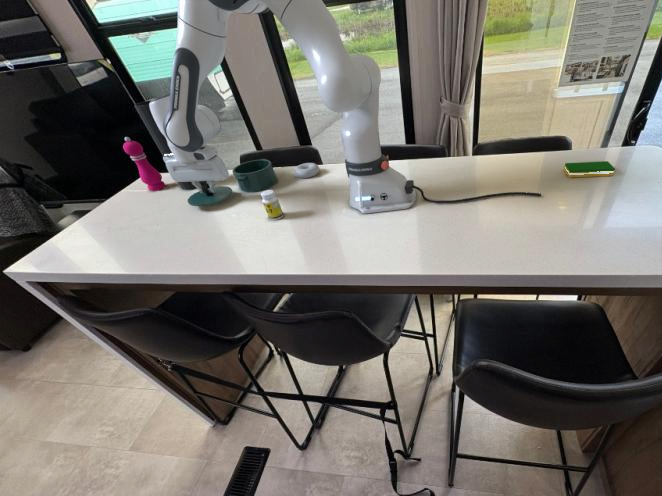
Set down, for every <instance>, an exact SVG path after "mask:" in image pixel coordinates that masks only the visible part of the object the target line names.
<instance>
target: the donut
mask: <svg viewBox="0 0 662 496" xmlns="http://www.w3.org/2000/svg"><path fill="white" fill-rule="evenodd" d="M293 171H294V174H295V176H296V177H297V178H300V179H308V178H312V177H315V176H317V175H318V174H319V172H320V167H319V165H318V164H317V163H315V162H305V163H301V164H299V165H296V167H295V168H294V170H293Z"/></svg>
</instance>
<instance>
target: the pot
mask: <svg viewBox="0 0 662 496" xmlns="http://www.w3.org/2000/svg"><path fill="white" fill-rule="evenodd" d="M231 172H232V174H233V176H234V179H235V180H236V183H237V186H238V188H239V189H240V191H242V192H245V193H256V192H263V191H266V190H269V188H272V187H274V186H275V185H276V184H277V182H278V178H277V175H276V172H275V169H274V167H273V164H272V162H271V161H270V160H269V159H267V158H260V159H255V160H248V161H245V162H242V163H240V164H237V165H235V166H234V168H232V171H231Z"/></svg>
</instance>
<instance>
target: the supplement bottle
mask: <svg viewBox="0 0 662 496" xmlns="http://www.w3.org/2000/svg"><path fill="white" fill-rule="evenodd" d="M260 197H261V198H262V201H261V202H262V204H263V207H264V209H265V211H266V214H267V217H268V219H269V220H272V221H276V220H277V221H278V220H280V219H282V218H283V217H284V211H283V209H282V206H281V203H280V201H279V198H278V197H277V196H276V193H275V191H274V190H273V189H265V190H262V191H261V193H260Z"/></svg>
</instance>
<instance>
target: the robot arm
mask: <svg viewBox="0 0 662 496" xmlns="http://www.w3.org/2000/svg"><path fill="white" fill-rule="evenodd" d="M269 11H270V12H272V14H273V15H274V16H275V18H276V19H277V21H278V22H279V23H280V24H281V26H282V27H283V28H284V30H285V31H286V32H287V34H288V35H289V37H290V38H291V39H292V40H293V42H294V43H295V44H296V46H297V47H298V48H299V50H300V51H301V53H302V54H303V56H304V57H305V59H306V61H307V63H308V64H309V67H310V69H311V71H312V73H313V75H314V78H315V80H316V82H317V92H318V95H319V98H320V100H321V102H322V103H323V105H324V106H325V107H326V108H327V109H329V110H330V111H331V112H334V113H340V114H342V123H341V128H340V136H341V140H342V145H343V146H342V147H343V151H344V155H345V156H344V157H345V159H344V163H345V164H344V165H345V171H346V174H347V178H348V181H349V205H350V206H351V207H352V208H353V209H356V210H358V211H360V212H361V213H362V214H373V213H381V212H390V211H398V210H399V211H400V210H408V209H410V208H411V207H413V205H414V204H415V203H416V199H417V193H416V190H417V191H419V192H420V195H421V198H422V199H423V200H424V201H426V202H430V203H434V204H457V203H463V202H469V201H471V202H472V201H476V200H477V201H478V200H482V199H486V198H487V199H488V198H494V197H501V196H517V195H518V196H535V197H541V196H542V193H540V194H539V192H528V191H527V193H526V191H508V192H507V191H506V192H500V193H491V194H485V195H478V196H474V197H473V196H472V197H466V198H461V199H449V200H448V199H447V200H446V199H445V200H444V199H442V200H433V199H429V198H427V197H425V194H424V193H425V192H424V191H423V189H422V188H420V187H418V186H416V185H415V183H414V179H407V177H406V176H405V175H404V174H402V173H401V172H399V171H397V170H396V169H394V168H393V167H391V166H390V161H389V154H387V155H384V154H383V153H382V149H381V139H380V131H379V130H380V129H379V110H380V86H381V80H382V75H381V74H382V73H381V69H380V66H379V64H378V63H377V62H376V60H375V59H374V58H372V57H371V56H369V55H366V54H363V53H353V54H350V53H349V52H348V50H347V48H346V47H345V44H344V42H343V40H342V38H341V35H340V33H339V28H338V23H337V20H336V19H335V17H334V16H333V15H332V13H331V11H330V10H329V9H328V7H327V6H326V4H325V3H324V1H323V0H177V26H176V27H177V30H176V44H175V49H174V55H173V60H172V67H171V77H170V92H169V93H166V94H164V95H161V96H159V97H156V98H154V99H150V100H151V101H150V103H149V106H150V110H151V113H152V116H153V118H154V120H155V122H156V124H157V126H158V128H159V130H160V131H161V133H162V134H163V135H164V136H165V138H166V140H167V143H168V146H169V148H170V150H171V152H172V153H171V154H168V153H167V154H165V155H164V156H163V155H162V160H163V162H164V163H165V167H166V169H167V171H168V174H169V176H170V177H171V179H172V181H174V182H175V183H178V182H192V184H193V185H194V186H195V187H196V189H198V192H199V191H200V193H205V192H204V190H203V188H202V186H201V184H200V183H199V181H207V183H208V184H209V186H210V187H209V188H208V190H209V192H210V193H214V192H216V189H215V187H216V186H215V183H216V182H217V181H218V182H219V181H220V182H221V181H225V180H227V179H228V178H229V173H230V172H229V170H228V167H227V166H226V164H225V162H224V160H223V159H222V157H220V156H219V155H217V154H218V153H219V152H218V149H217V148H216V147H215V146H211V145H208V144H206V143H208V142H210V141H211V140H212V139H214V138H216V137H217V136H218V135H219V134H220V133H221V127H222V126H221V125H222V124H221V121H220V119H219V116H218V115H217V113H216V112H214V110H212V109H211V108H210V107H209V106H207V105H204V104H199V96H200V89H201V86H202V85H203V83H204V81H205V80H206V78H207V77H208V76H209V75H210V74H211V73H212V72H213V71H214V70H215V69H217V68H218V67H219V66H220V65H221V64H222V62H223V60H224V57H225V55H226V50H227V43H228V29H229V25H228V24H229V18H230V16H231V14H233V12H234V13H239V14H242V15H263V14H265V13H267V12H269Z"/></svg>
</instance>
